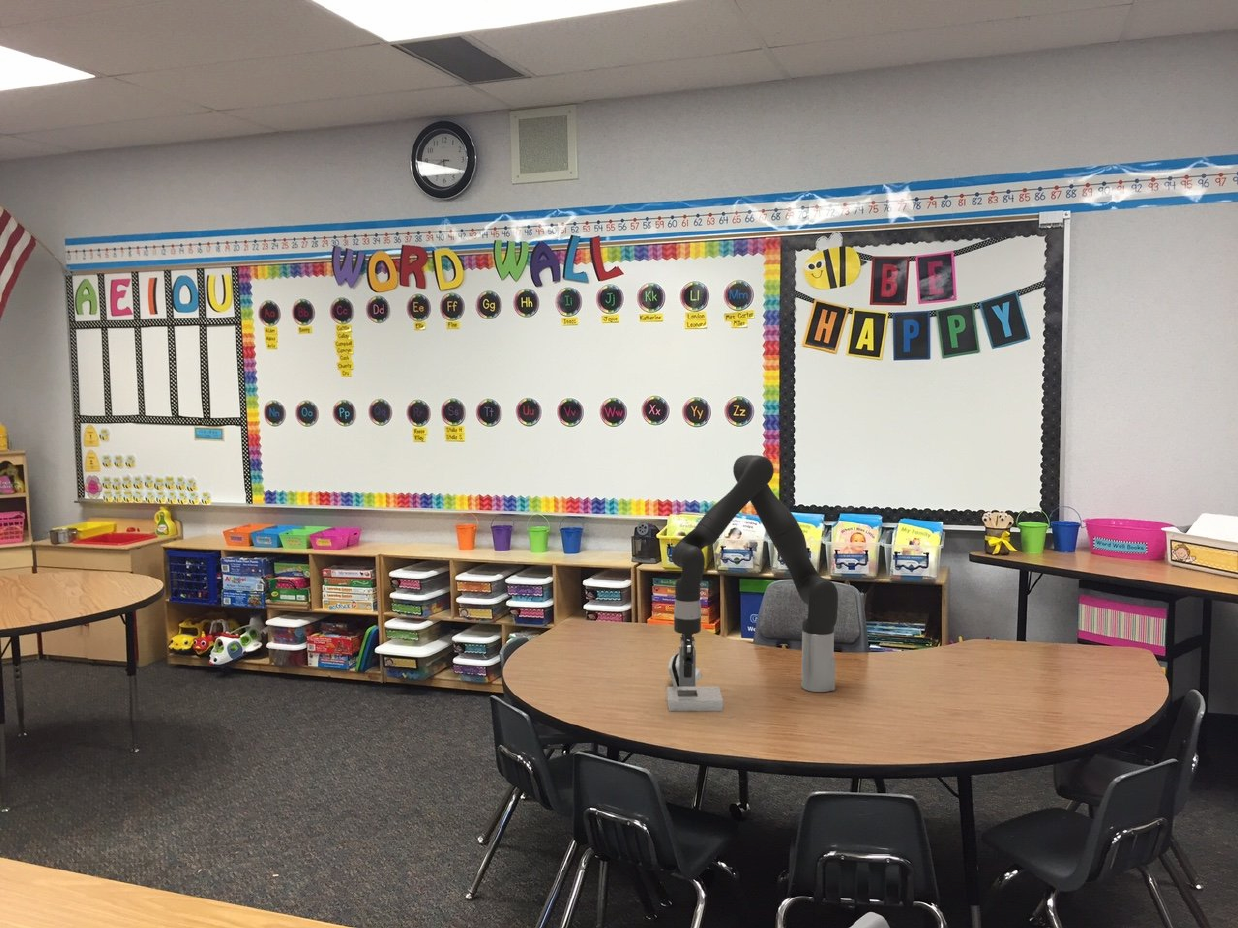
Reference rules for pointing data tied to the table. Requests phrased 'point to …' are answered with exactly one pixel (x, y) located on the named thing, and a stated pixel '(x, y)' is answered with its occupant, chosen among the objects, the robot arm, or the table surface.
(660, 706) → the table surface
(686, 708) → the square hole plate
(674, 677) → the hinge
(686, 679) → the square peg
